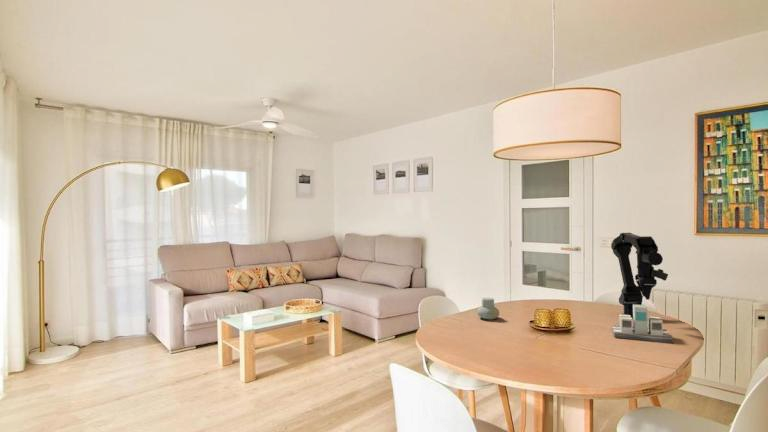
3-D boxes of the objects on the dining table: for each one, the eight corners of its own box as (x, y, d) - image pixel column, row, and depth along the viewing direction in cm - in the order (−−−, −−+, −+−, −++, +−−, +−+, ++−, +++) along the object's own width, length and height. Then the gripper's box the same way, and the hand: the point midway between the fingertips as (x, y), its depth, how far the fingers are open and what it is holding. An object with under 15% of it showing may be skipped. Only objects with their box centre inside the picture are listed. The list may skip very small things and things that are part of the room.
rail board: (611, 328, 178) (611, 312, 178) (665, 333, 169) (665, 315, 169) (614, 337, 165) (614, 319, 165) (673, 343, 157) (672, 324, 157)
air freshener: (493, 315, 207) (493, 296, 207) (502, 319, 199) (501, 299, 199) (474, 317, 204) (474, 297, 204) (482, 321, 196) (482, 301, 196)
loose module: (633, 329, 171) (632, 304, 171) (645, 330, 169) (645, 304, 169) (635, 333, 166) (634, 306, 166) (647, 334, 164) (647, 307, 164)
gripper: (670, 265, 170) (671, 302, 169) (662, 262, 187) (663, 296, 186) (639, 265, 175) (640, 300, 174) (634, 262, 192) (635, 294, 191)
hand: (646, 298), depth 181 cm, fingers open, 9 cm apart
